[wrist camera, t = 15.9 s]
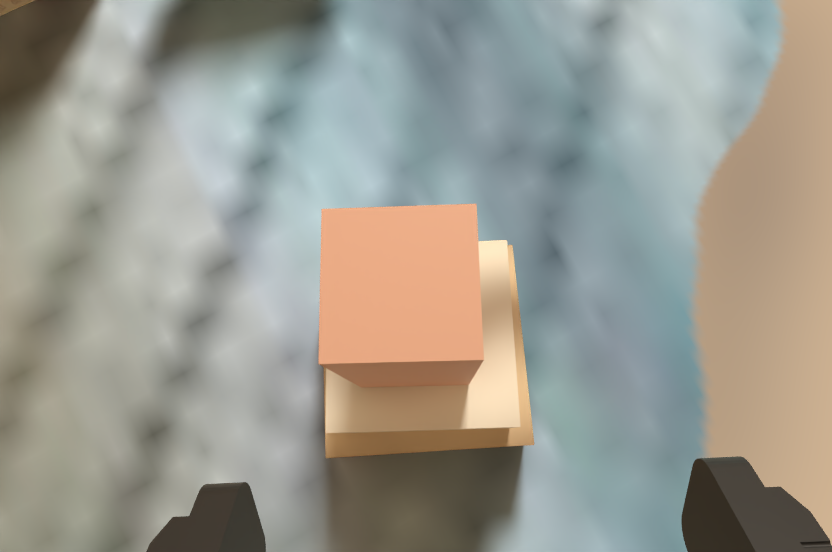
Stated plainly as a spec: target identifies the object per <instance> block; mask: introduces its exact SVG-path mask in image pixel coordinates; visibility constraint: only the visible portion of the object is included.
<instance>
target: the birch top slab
mask: <svg viewBox="0 0 832 552" xmlns="http://www.w3.org/2000/svg"><path fill="white" fill-rule="evenodd" d="M478 247H479V268H480V288H481V309H482V329H483V349H484V361H483V362H482V364H481V366H480V367H479V369H478V371H477V372H476V374H475V376H474V377H473V379H472V381H471V382H470V384H469V385H443V386H400V387H359V386H358V385H356V384H354V383H352V382H350V381H349V380H347V379H345V378H343V377H341V376H339V375H338V374H336V373H334V372H332V371H330V370H329V369H327V368H326V433H366V432H398V431H430V430H461V429H493V428H515V427H521V426H520V412H519V399H518V385H517V371H516V358H515V344H514V330H513V316H512V303H511V289H510V275H509V262H508V248H507V240H498V241H478Z"/></svg>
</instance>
